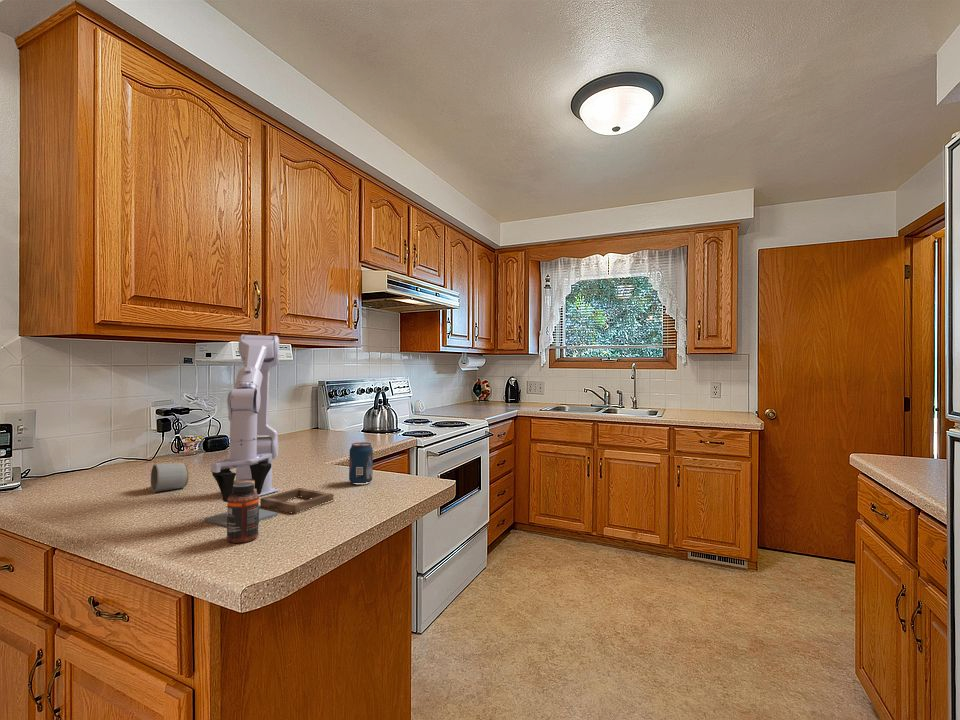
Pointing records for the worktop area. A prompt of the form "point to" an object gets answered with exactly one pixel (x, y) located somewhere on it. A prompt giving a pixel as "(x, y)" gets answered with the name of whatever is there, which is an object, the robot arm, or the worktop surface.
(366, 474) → the soda can
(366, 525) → the worktop surface
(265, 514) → the mat
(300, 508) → the frame
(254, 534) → the supplement bottle
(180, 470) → the grey cylinder
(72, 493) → the worktop surface
